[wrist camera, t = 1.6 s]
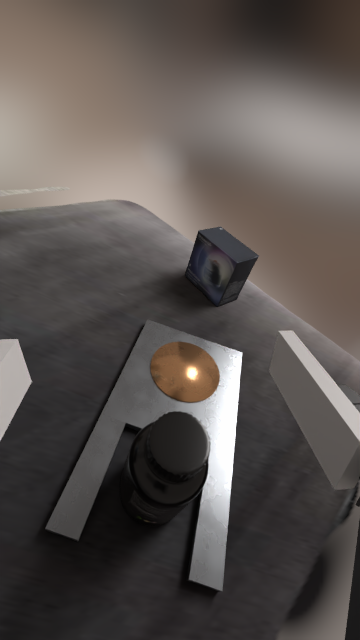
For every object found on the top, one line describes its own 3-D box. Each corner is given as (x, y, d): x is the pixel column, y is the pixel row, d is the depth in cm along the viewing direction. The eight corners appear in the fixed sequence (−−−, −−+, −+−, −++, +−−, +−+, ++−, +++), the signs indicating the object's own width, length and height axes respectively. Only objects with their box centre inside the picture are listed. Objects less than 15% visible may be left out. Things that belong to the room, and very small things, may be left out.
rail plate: (218, 591, 24) (223, 591, 23) (46, 530, 24) (44, 528, 24) (239, 356, 45) (242, 351, 44) (146, 323, 45) (147, 318, 44)
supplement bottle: (196, 505, 29) (241, 465, 20) (133, 543, 25) (159, 514, 17) (166, 442, 32) (195, 388, 24) (109, 469, 29) (120, 416, 21)
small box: (182, 275, 57) (196, 228, 50) (204, 269, 61) (220, 225, 54) (216, 308, 52) (237, 261, 45) (238, 299, 56) (260, 255, 49)
